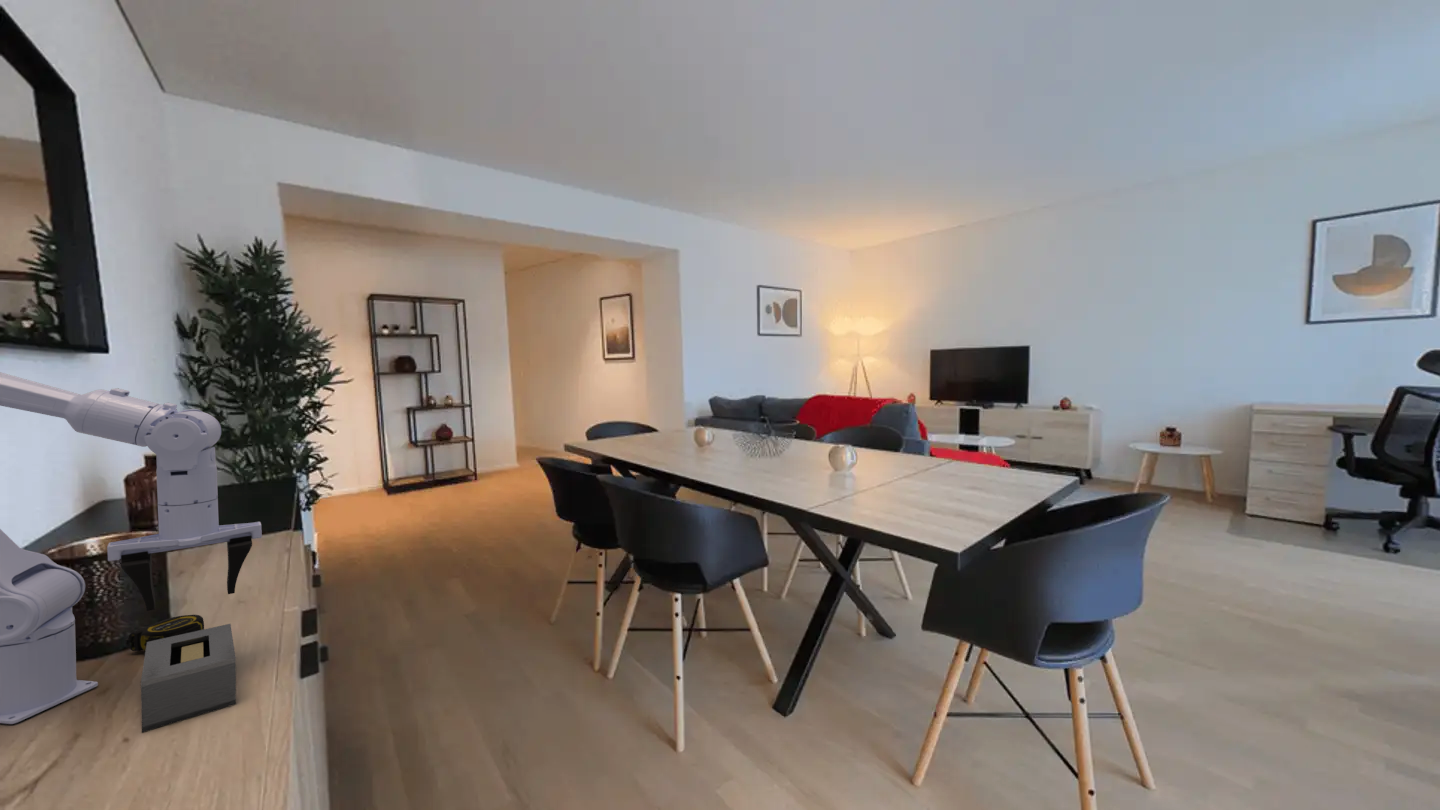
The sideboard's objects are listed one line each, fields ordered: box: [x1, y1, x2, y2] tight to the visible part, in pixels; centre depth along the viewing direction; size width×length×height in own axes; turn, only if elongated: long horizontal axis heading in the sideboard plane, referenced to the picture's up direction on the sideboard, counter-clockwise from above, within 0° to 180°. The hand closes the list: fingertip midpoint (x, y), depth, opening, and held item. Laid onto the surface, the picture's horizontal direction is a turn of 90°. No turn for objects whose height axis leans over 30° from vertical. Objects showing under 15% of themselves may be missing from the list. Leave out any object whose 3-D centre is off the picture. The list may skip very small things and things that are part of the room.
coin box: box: [140, 623, 237, 733], centre depth 68 cm, size 12×8×6 cm, turn 45°
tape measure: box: [125, 614, 205, 652], centre depth 79 cm, size 7×7×4 cm
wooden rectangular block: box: [181, 642, 203, 663], centre depth 68 cm, size 5×2×5 cm, turn 44°
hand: (192, 599), depth 72 cm, fingers open, 7 cm apart
